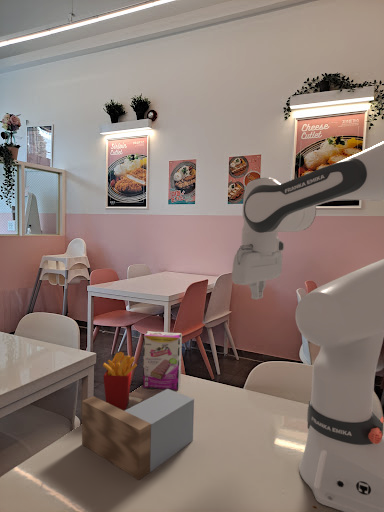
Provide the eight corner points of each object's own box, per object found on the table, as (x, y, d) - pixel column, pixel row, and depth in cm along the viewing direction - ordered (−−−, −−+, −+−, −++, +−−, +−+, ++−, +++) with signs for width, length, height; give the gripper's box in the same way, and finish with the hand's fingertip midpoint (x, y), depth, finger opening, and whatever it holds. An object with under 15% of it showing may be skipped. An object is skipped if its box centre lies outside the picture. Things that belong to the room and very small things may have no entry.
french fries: (102, 412, 94) (102, 356, 93) (109, 398, 102) (109, 346, 101) (135, 413, 94) (136, 357, 93) (140, 398, 102) (141, 347, 101)
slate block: (192, 440, 83) (194, 398, 82) (150, 472, 72) (151, 424, 71) (166, 428, 88) (167, 388, 87) (122, 456, 77) (123, 411, 76)
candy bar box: (142, 388, 109) (142, 335, 108) (145, 381, 114) (146, 330, 113) (178, 391, 108) (180, 337, 107) (181, 383, 113) (182, 332, 112)
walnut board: (150, 471, 72) (150, 423, 71) (139, 480, 70) (139, 430, 69) (93, 438, 83) (93, 396, 82) (82, 444, 80) (82, 400, 80)
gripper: (250, 245, 81) (248, 306, 82) (287, 244, 97) (284, 295, 98) (226, 244, 85) (224, 302, 86) (265, 243, 101) (263, 292, 102)
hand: (257, 298), depth 92 cm, fingers closed
